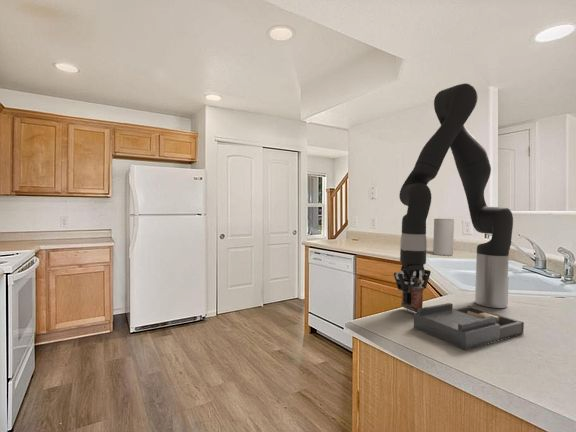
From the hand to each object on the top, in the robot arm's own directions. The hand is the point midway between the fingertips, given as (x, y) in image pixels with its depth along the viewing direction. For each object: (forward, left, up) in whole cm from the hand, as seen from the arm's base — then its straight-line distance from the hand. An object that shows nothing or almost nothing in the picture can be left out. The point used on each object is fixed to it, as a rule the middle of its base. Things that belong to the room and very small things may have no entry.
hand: (411, 303), depth 100 cm
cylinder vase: (-119, -81, -3) cm, 144 cm away
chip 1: (-5, +17, -1) cm, 18 cm away
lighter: (0, 0, -2) cm, 2 cm away
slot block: (+3, +17, -3) cm, 18 cm away
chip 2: (-10, +17, 0) cm, 20 cm away
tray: (-9, +17, -3) cm, 19 cm away
